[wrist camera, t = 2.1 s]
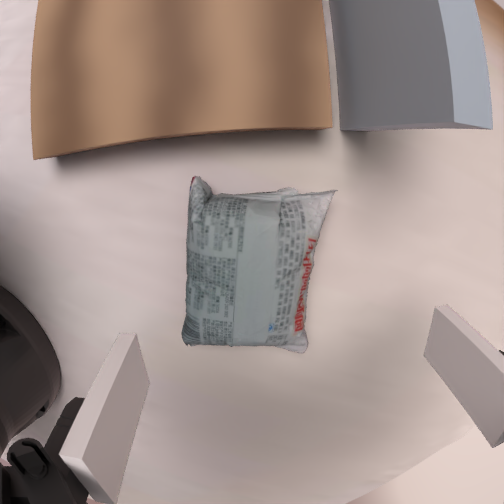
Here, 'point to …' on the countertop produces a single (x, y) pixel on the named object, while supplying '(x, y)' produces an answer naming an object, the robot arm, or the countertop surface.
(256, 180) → the countertop surface
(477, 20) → the backboard
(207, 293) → the packaged food
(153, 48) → the plinth
